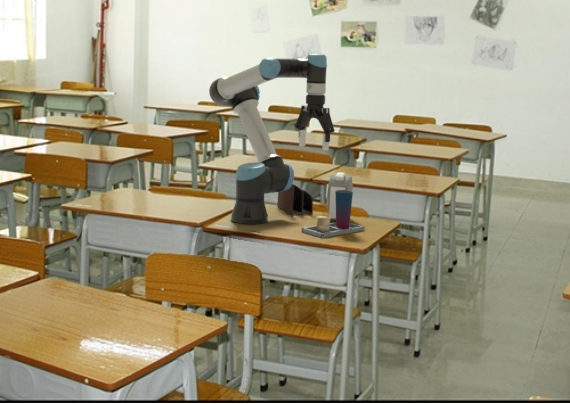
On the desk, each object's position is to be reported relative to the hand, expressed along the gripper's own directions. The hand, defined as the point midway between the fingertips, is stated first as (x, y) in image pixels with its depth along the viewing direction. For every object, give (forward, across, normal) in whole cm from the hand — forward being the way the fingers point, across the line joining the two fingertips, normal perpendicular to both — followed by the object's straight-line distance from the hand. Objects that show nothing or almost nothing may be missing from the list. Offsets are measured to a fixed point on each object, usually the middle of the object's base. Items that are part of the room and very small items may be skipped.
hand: (313, 148), depth 317 cm
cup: (+31, +14, +4) cm, 34 cm away
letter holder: (+32, -28, +16) cm, 46 cm away
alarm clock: (+32, -2, +18) cm, 37 cm away
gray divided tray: (+32, +14, -1) cm, 35 cm away
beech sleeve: (+31, +14, -6) cm, 34 cm away
